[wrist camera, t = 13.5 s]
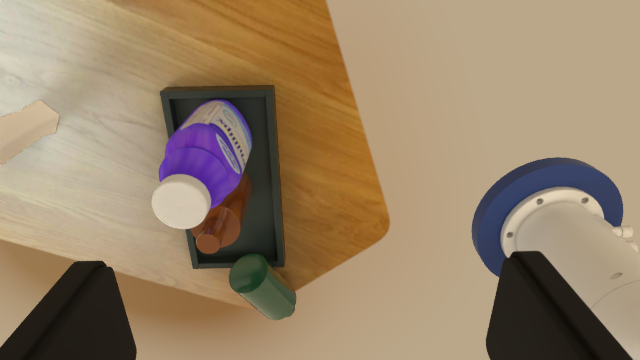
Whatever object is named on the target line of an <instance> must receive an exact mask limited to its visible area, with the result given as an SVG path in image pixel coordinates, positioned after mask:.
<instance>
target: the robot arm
mask: <svg viewBox="0 0 640 360" xmlns="http://www.w3.org/2000/svg"><path fill="white" fill-rule="evenodd" d="M632 235H633V229H632V228H631V227H630V226H618V227H613V226H612V225H611V224H609V223H608V222H607V221H606V220H604V214H603V211H602V208H601V206H600V205H599V203H598V202H597V201H596V200H595V199H594V198H593V197H591V196H590V195H589V194H587V193H586V192H584V191H582V190H579V189H577V188H572V187H553V188H547V189H544V190H541V191H538V192H536V193H534V194H532V195H530V196H528V197H527V198H525V199H524V200H522V201H521V202H520V203H519V204H518V205H516V206H515V207H514V208H513V209H512V211H511V212H510V213H509V215H508V216H507V217H506V220H505V222H504V224H503V226H502V230H501V235H500V242H501V247H502V250H503V252H504V254H505V255H506V257H507V258H505V259H504V261H503V264H502V268H501V273H500V278H499V282H498V287H497V292H496V296H495V300H494V306H493V310H492V314H491V319H490V323H489V328H488V332H487V337H486V347H487V352H488V355H489V357H490V359H491V360H640V253H638V247H637V244H636V243H635V242H633V241H624V240H623V239H621V238H622V237H632ZM135 359H136V345H135V342H134V339H133V335H132V332H131V328H130V325H129V321H128V318H127V315H126V312H125V308H124V305H123V301H122V298H121V294H120V291H119V287H118V284H117V281H116V277H115V274H114V271H113V269H112V268H111V267H107V266H106V264H105V263H104V262H103V261H77V262H74V263H73V264H72V265H71V266H70V267H69V268H68V270H67V271H66V272H65V273H64V274H63V275H62V277H61V278H60V279H59V280H58V281H57V282H56V284H55V285H54V286H53V287H52V288H51V289H50V290H49V292H48V293H47V294H46V295H45V296H44V297H43V299H42V300H41V301H40V302H39V304H37V306H36V307H35V308H34V309H33V310H32V311H31V313H30V314H29V315H28V316H27V317H26V318H25V320H24V321H23V322H22V323H21V324H20V325H19V326H18V328H17V329H16V330H15V331H14V332H13V333H12V335H11V336H10V337H9V338H8V339H7V340H6V342H5V343H4V344H3V345H2V346H1V347H0V360H135Z"/></svg>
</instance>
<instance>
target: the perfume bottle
mask: <svg viewBox="0 0 640 360" xmlns="http://www.w3.org/2000/svg"><path fill="white" fill-rule="evenodd" d="M58 121H59V114H58V113H56V112H55V111H54V110H52V109H51V108H50V107H49V106H47V105H46V104H45V103H43V102H42V101H41V100H37V101H36V102H34V103H32V104H30V105H28V106H26V107H25V108H23V109H22V110H21V111H18V112H15V113H12V114H8V115H5V116H2V117H0V166H2V165H3V164H5V163H6V162H7V161H9V160H10V159H11V158H13V157H14V156H16V155H17V154H18V153H20V152H21V151H22V150H24V149H25V148H27V147H28V146H29V145H31V144H32V143H33V142H35V141H36V140H38V139H39V138H40V137H42V136H43V135H49V134H54V133H55V131H56V128H57V124H58Z"/></svg>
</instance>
